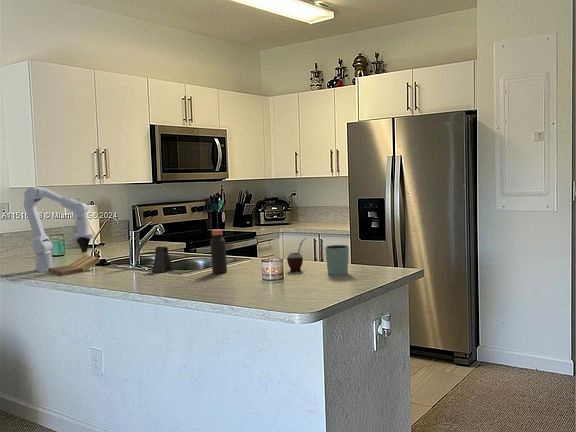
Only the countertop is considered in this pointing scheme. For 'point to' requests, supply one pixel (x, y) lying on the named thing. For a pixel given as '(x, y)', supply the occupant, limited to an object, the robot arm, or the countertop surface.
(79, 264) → the oak plank
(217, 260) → the bottle
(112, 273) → the countertop surface
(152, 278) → the countertop surface
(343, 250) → the grey-green cup
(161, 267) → the door stopper
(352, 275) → the countertop surface
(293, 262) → the mate gourd
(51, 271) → the walnut plank
